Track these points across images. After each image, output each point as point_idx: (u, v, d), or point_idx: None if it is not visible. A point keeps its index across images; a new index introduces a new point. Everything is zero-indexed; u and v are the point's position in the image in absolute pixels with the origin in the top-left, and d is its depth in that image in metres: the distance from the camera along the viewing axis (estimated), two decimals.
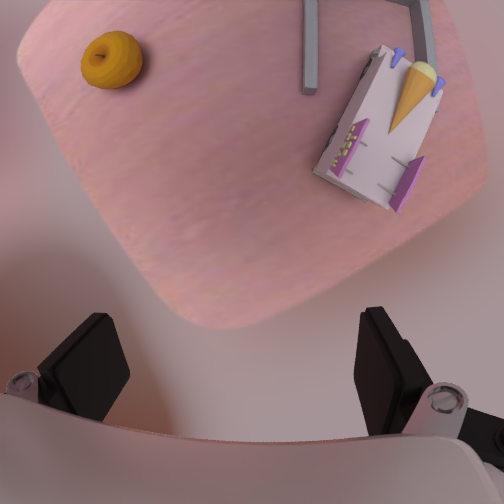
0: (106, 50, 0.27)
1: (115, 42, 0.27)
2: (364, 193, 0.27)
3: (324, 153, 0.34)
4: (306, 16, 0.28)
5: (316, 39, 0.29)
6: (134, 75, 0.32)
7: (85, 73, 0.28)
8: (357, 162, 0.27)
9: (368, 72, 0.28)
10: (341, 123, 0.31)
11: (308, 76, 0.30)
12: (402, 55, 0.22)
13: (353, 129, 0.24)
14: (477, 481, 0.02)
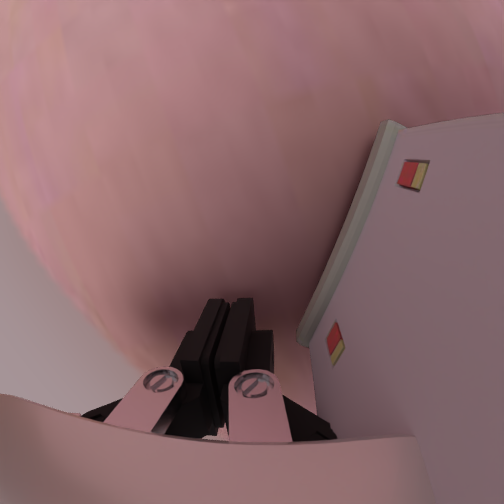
0: None
1: None
2: None
3: None
4: None
5: None
6: None
7: None
8: None
9: None
10: None
11: None
12: None
13: None
14: None
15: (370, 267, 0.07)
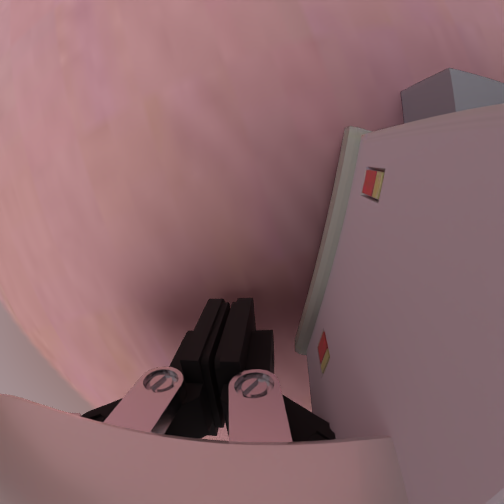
0: None
1: None
2: None
3: None
4: None
5: None
6: None
7: None
8: None
9: None
10: None
11: (486, 91, 0.06)
12: None
13: None
14: None
15: (345, 278, 0.07)
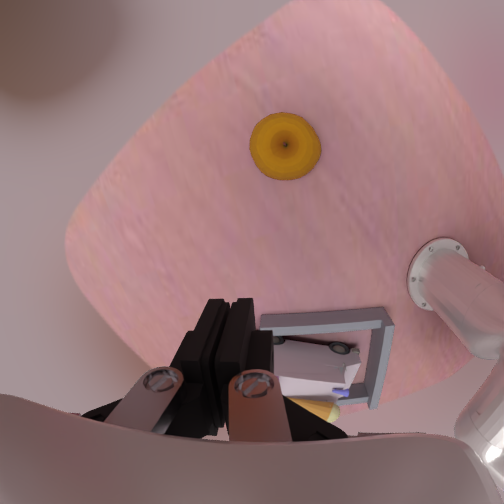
0: (291, 149, 0.32)
1: (297, 164, 0.32)
2: None
3: None
4: (329, 324, 0.42)
5: (306, 333, 0.43)
6: None
7: (264, 128, 0.31)
8: None
9: (332, 359, 0.42)
10: (285, 349, 0.44)
11: None
12: (343, 395, 0.37)
13: None
14: (477, 481, 0.02)
15: None
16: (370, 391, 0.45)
